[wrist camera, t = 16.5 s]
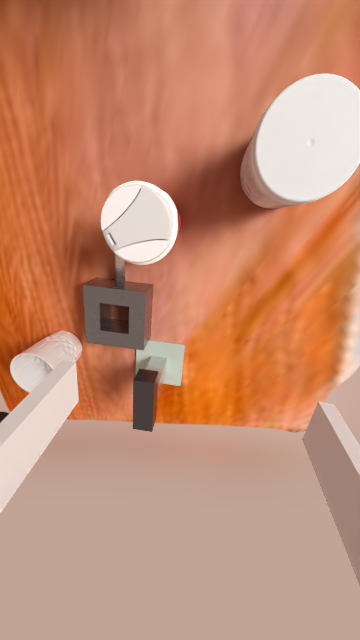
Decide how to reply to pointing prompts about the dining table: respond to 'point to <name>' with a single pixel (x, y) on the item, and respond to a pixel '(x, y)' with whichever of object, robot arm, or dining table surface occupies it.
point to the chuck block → (123, 294)
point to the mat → (166, 350)
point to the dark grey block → (148, 393)
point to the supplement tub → (304, 143)
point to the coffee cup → (140, 222)
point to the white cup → (44, 358)
